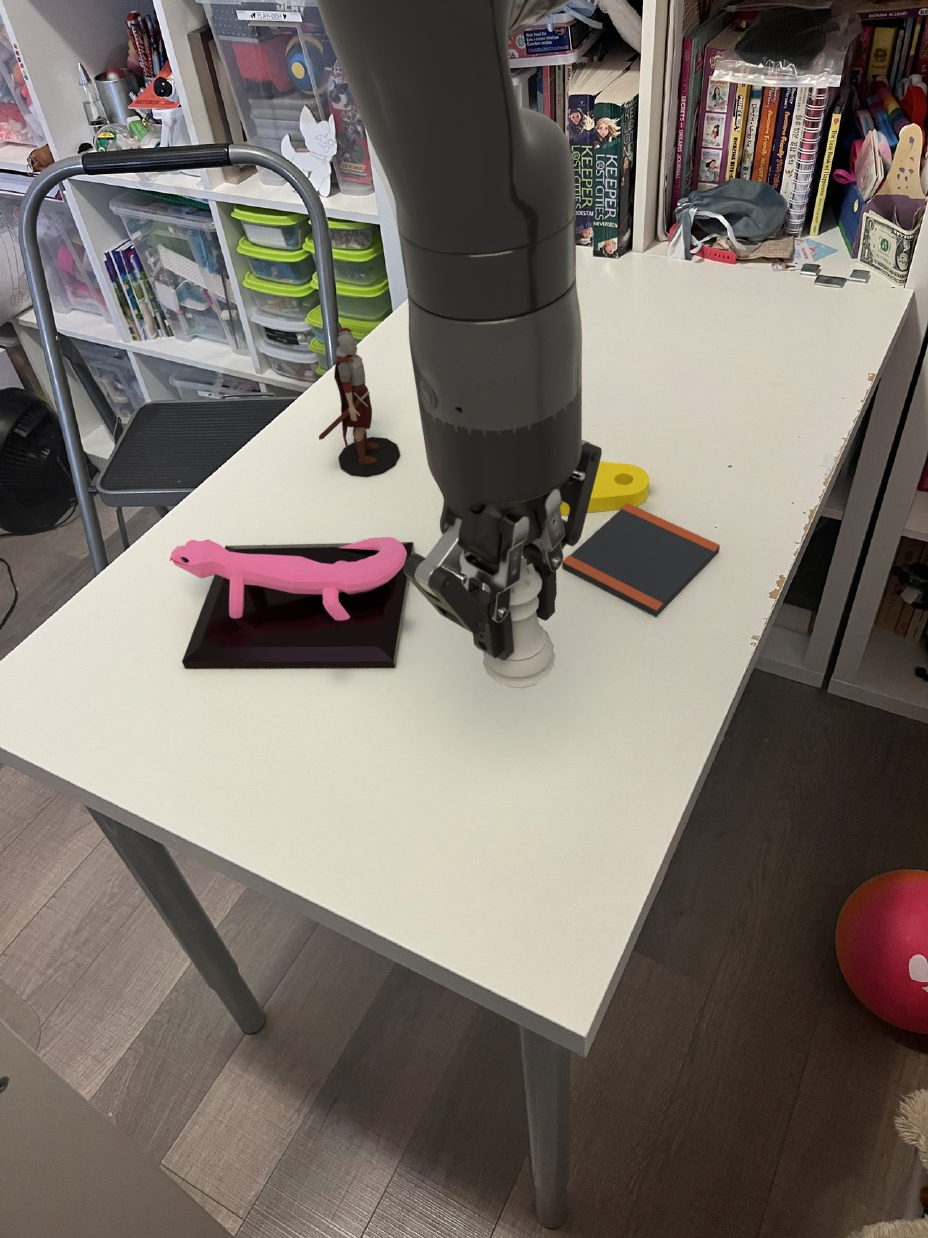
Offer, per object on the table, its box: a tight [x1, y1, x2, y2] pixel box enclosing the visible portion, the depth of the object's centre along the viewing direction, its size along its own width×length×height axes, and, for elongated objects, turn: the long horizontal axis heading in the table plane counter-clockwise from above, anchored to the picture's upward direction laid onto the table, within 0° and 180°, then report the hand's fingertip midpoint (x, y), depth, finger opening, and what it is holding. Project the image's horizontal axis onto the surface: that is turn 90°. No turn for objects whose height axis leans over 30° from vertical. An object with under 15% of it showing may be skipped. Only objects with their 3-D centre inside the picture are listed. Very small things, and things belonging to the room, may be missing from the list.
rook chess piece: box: [482, 557, 556, 689], centre depth 52 cm, size 4×4×8 cm
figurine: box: [318, 327, 401, 478], centre depth 89 cm, size 7×7×15 cm
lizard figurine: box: [169, 536, 415, 670], centre depth 77 cm, size 15×20×7 cm
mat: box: [561, 503, 721, 618], centre depth 79 cm, size 10×10×1 cm
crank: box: [560, 461, 650, 516], centre depth 85 cm, size 18×8×6 cm, turn 83°
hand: (517, 629), depth 52 cm, fingers closed on rook chess piece, 3 cm apart
